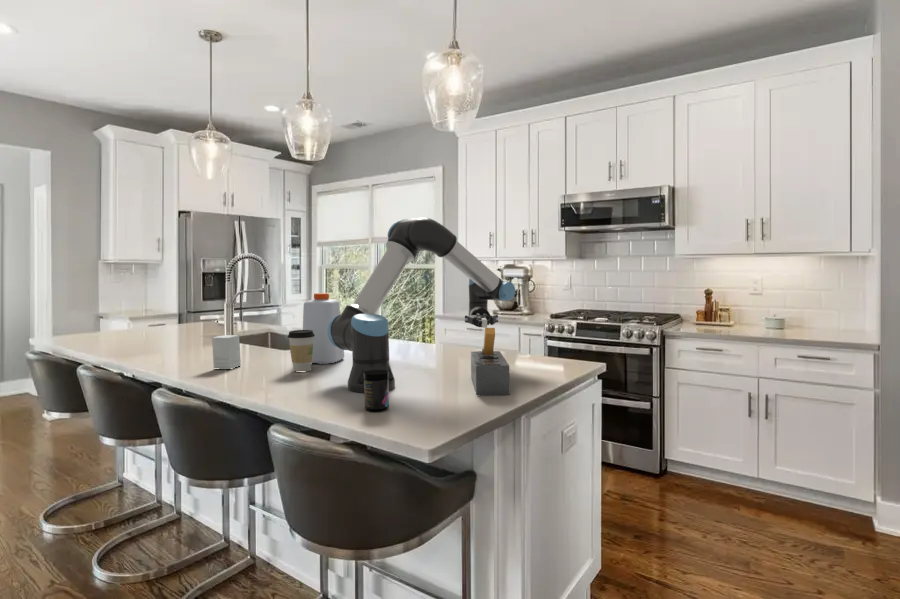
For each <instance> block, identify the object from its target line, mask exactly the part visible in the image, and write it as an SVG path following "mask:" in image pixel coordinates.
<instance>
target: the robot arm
mask: <svg viewBox="0 0 900 599" xmlns="http://www.w3.org/2000/svg"><path fill="white" fill-rule="evenodd" d="M385 246H386V251H385V252H384V254H383V256H382V257H381V259H380V260H379V262H378V263H377V265H376V266H375V268H374V270H373V271H372V273H371V275H370V276H369V278H368V280H366V282H365V284H364V286H363V287H362V288H361V290H360V292H359V294H358V295H357V297H356V298H355V300H354V302H353V303H352V304H347V305H346V306H345V308H344V309H343V310H342V312H341V313H340V315H338V316H335V317H334V318H333V319H332V320H331V321H330V323H329V325H328V337H329V340H330V341H331V343H332V344H333V345H334V346H336V347H338V348H340V349H342V350H344V351H350V352H351V353H352V355H351V356H352V367H351V369H350V371H349V372H350V373H349V377H348V379H347V389H348V390H349V391H351V392H353V393H354V392H355V393H364V372H365V371H369V370H387V371H388V377H389V378H388V384H389V391H390V390H392V389H394V388H395V387H396V379H395V377H394V373H393V370H392V368H391V365H390V344H389V343H390V340H389V337H390V336H389V332H390V328H389V321H388V319H387V318H386V317H385V316H383V315H382V314H381V315H380V314H378V311H379V309H380V308H381V306H382V304H383V303H384V301H385V300H386V298H387V296H388V294H389V293H390V291H392V288H393V287H394V285H395V284H396V281H397V280H398V279H399V277H400V275H401V274H402V272H403V270H404V268H405V267H406V266H407V263H410V262H413V261H414V260H415V259H416V257H417V256H418V253H419V252H422V251H426V252H430V253H432V254H434V255H436V256H437V257H438V258H444V259H445V260H447V262H448V263H449V264H452V266H454V267H455V268H456V269H457V270H459V271H460V272H461V273H462V274H464V275H465V276H466V277H467V278H469V279H468V314H467V315H464V323H465V324H466V323H468V324H471V326H472V325H473V326H475V327H477V328H484V329H485V328H488V326H489V325H491V326H493V325H495V324H496V323H498V322H499V315H498V314H496V315H491V314H490V312H489V309H488V301H498V302H509V301H511V300H513V299H514V297H515V296H516V286H515V284H514V283H513V282H511V281H508V280H505V281H504V280H502V279H501V278H500V277H499V276H498V275H497V274H495V273H494V272H493V271H492V270H491V269H490V268H489V267H487V266H486V265H485V264H484V263H483V262H482V261H480V260H479V258H477V257H476V256H475V255H474V254H473V253H471V252H470V251H469V250H468V248H466V247H465V246H464V245H462V244H461V243H460V242H459V241H458V237H457V236H456V235H455V234H454V233H453V232H452V231H451V230H449V228H447V227H445V226H444V225H443V224H441V223H439V222H438V221H437V220H434V219H432V218H429V217H423V216H422V217H417V218H405V219H401V220H397V221H396V222H394V223H393V224H391V226H390V227H389V228H388V232H387V241H386V243H385Z"/></svg>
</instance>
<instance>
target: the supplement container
mask: <svg viewBox="0 0 900 599" xmlns="http://www.w3.org/2000/svg"><path fill="white" fill-rule="evenodd" d="M388 378H389V377H388V371H387V370H369V371H365V372H364V392H363V393H364V395H363V396H364V409H365V411H367V412H370V413H381V412H385V411H387V410H388V409H389V406H390V395H389V393H390V392H389V391H390V390H389V384H388Z"/></svg>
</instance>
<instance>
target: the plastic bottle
mask: <svg viewBox="0 0 900 599" xmlns="http://www.w3.org/2000/svg"><path fill="white" fill-rule="evenodd" d="M340 308H341V307H340V301H339V300H338V299H330V294H329V292H328V293H327V292H317V293H314V294H313V299H310V300H306V301H305V302H303V309H302V312H303V313H302V330H312V331H313V333H314V335H315V336H314V338H313V355H312V362H311V363H318V364H317V365H327V364H326V363H333V364H335V363H334V362H336V363H338V362H340V361H342V360H344V358H345V350H342V349H340V348H338V347H336V346H334V345H333V344H332V343H331V341H330V340H329V337H328V325H329V323H330V321H331V320H332V319H333V318H334V317H335V316H338V315H341V310H340ZM341 359H342V360H341ZM339 360H340V361H339ZM337 361H338V362H337ZM320 363H321V364H320Z"/></svg>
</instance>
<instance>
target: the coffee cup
mask: <svg viewBox="0 0 900 599" xmlns="http://www.w3.org/2000/svg"><path fill="white" fill-rule="evenodd" d="M314 336H315V335H314V333H313V331H312V330H303V329H297V330H289V332H288V334H287V338H288V340H289V345H288V346H289V351H290V352H289V353H290V356H291V357H290V358H291V363H292V368H293V369H292V370H293V372H294V371H309V370H312V364H311V362H312V355H313V338H314ZM309 372H310V371H309Z"/></svg>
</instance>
